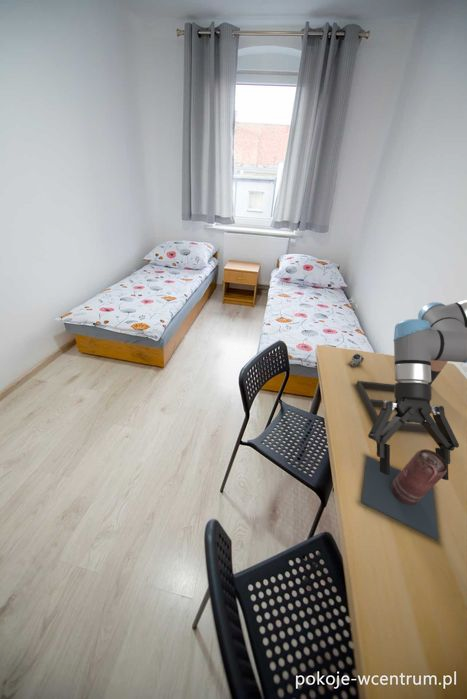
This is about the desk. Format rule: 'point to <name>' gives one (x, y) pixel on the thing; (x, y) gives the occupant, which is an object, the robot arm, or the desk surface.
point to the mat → (385, 501)
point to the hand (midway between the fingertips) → (413, 476)
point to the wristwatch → (356, 360)
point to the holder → (378, 403)
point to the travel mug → (436, 369)
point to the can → (418, 476)
